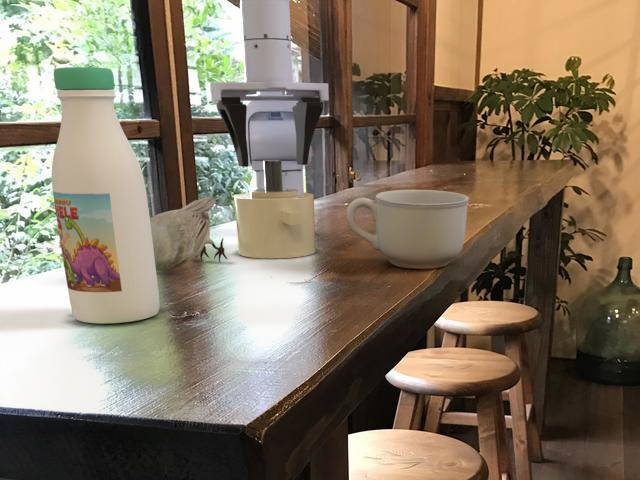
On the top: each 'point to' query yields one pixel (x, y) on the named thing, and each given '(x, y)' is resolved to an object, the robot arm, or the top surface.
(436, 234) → the teacup
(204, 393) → the top surface
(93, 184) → the milk bottle
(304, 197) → the kettle
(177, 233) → the decorative bird
